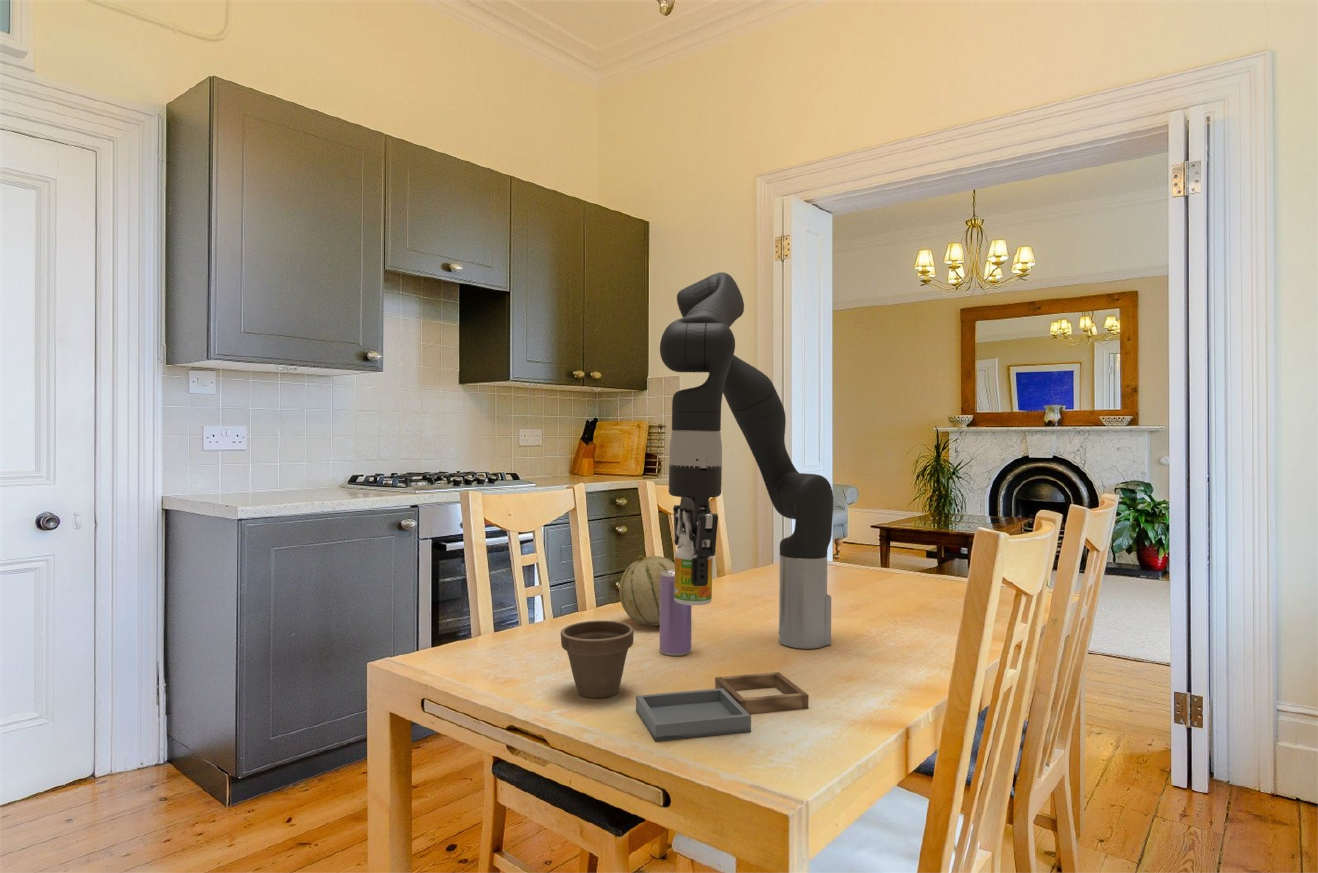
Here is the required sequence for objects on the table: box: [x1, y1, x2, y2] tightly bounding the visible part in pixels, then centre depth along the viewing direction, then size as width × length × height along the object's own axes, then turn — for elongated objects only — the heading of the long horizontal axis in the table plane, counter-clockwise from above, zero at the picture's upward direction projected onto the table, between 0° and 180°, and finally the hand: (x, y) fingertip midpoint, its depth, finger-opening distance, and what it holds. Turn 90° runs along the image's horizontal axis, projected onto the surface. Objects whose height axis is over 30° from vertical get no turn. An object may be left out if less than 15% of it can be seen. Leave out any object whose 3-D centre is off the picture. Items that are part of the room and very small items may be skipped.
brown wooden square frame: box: [714, 671, 810, 715], centre depth 118 cm, size 11×11×2 cm
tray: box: [635, 688, 752, 742], centre depth 109 cm, size 14×12×2 cm
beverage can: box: [659, 570, 693, 657], centre depth 142 cm, size 6×6×15 cm
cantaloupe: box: [618, 554, 675, 626], centre depth 163 cm, size 15×15×15 cm
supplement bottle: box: [674, 533, 714, 606], centre depth 108 cm, size 5×5×10 cm
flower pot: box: [560, 620, 635, 699], centre depth 120 cm, size 12×11×10 cm
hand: (693, 580), depth 108 cm, fingers closed on supplement bottle, 5 cm apart
